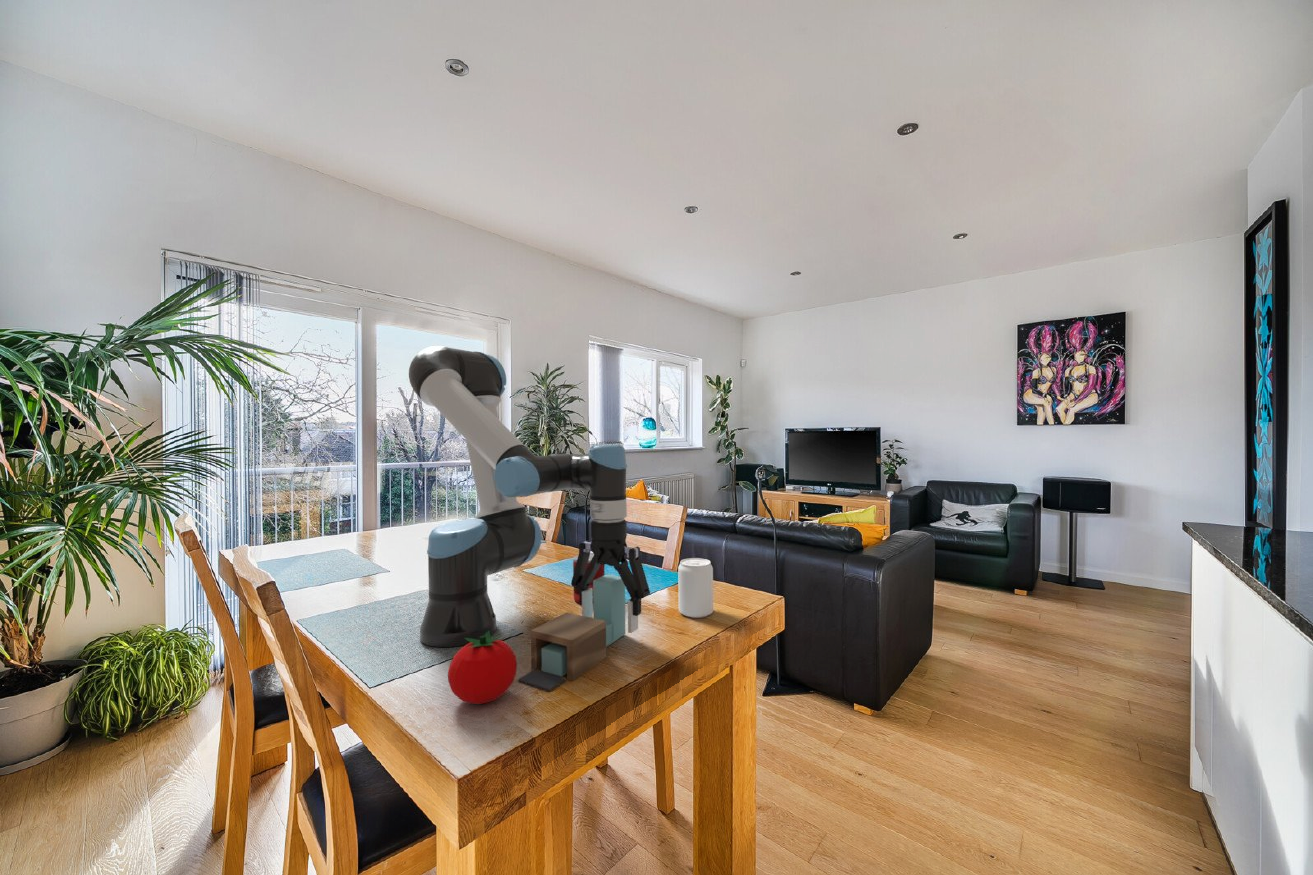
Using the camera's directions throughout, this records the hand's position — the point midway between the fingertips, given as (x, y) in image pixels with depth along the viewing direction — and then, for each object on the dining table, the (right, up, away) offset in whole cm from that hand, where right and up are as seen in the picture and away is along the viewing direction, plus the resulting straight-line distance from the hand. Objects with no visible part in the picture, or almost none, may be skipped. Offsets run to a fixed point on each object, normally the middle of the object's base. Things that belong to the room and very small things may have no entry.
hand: (609, 625), depth 102 cm
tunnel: (-6, -3, -11) cm, 13 cm away
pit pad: (-10, -3, -18) cm, 21 cm away
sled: (-4, -2, -7) cm, 8 cm away
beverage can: (+19, -2, +14) cm, 23 cm away
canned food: (-7, -3, +24) cm, 25 cm away
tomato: (-18, -3, -23) cm, 30 cm away
